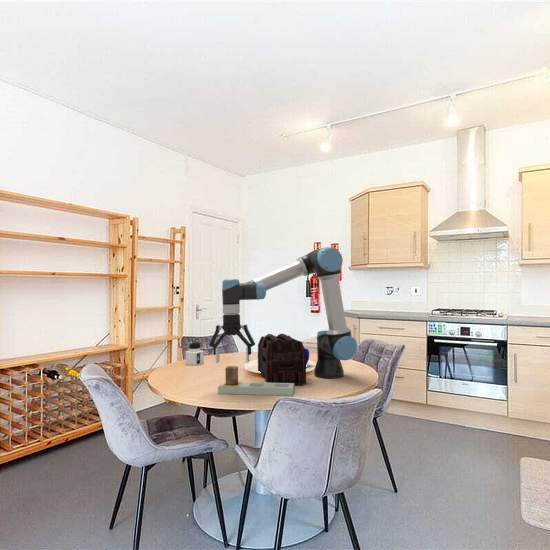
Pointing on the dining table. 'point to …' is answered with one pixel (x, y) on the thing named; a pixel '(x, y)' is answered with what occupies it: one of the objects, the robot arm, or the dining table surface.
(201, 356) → the container
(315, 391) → the dining table surface
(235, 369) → the walnut block
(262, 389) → the sorting tray
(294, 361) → the crate
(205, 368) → the dining table surface
